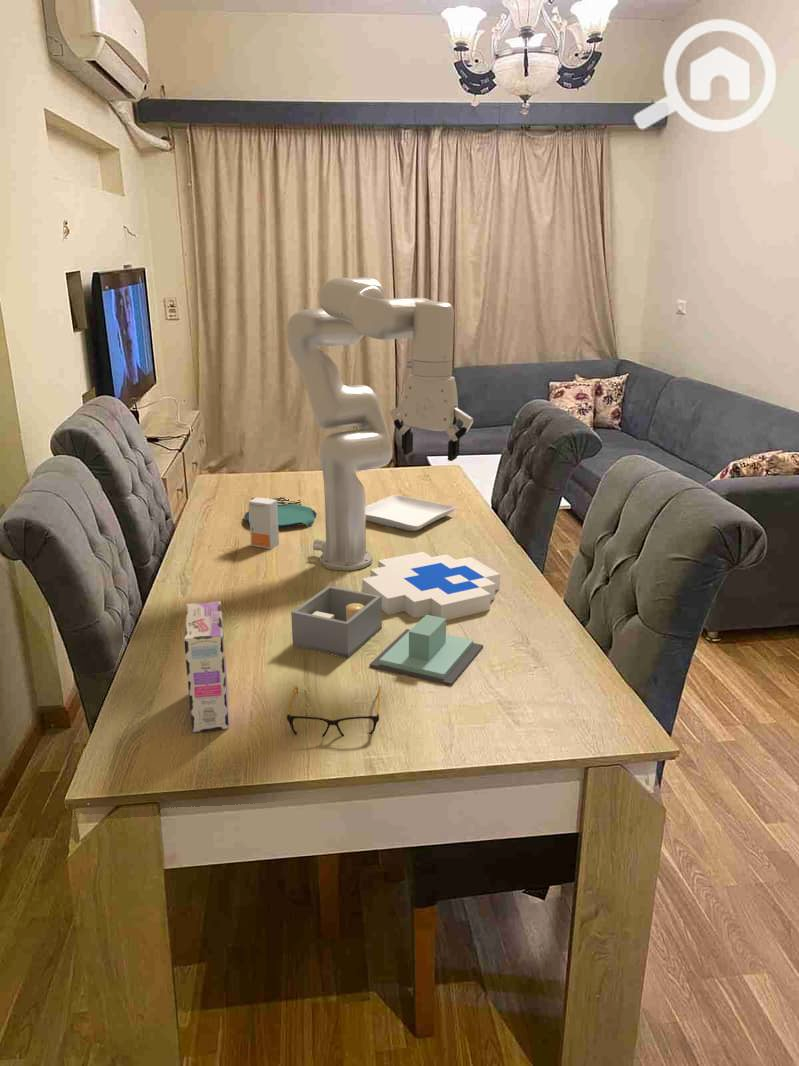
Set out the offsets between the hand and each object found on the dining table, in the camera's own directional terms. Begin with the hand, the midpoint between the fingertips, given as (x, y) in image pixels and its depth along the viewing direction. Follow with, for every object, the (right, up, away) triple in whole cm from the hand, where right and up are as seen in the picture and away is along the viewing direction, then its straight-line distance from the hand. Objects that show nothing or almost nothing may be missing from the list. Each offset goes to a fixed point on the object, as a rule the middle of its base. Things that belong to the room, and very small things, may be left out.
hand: (429, 456), depth 162 cm
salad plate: (-4, -12, +67) cm, 68 cm away
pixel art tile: (+1, -29, +19) cm, 34 cm away
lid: (-1, -38, -10) cm, 39 cm away
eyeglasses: (-16, -45, -28) cm, 56 cm away
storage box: (-18, -35, -2) cm, 40 cm away
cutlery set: (-40, -11, +70) cm, 82 cm away
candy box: (-37, -44, -27) cm, 64 cm away
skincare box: (-40, -19, +46) cm, 64 cm away
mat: (-1, -38, -10) cm, 39 cm away
